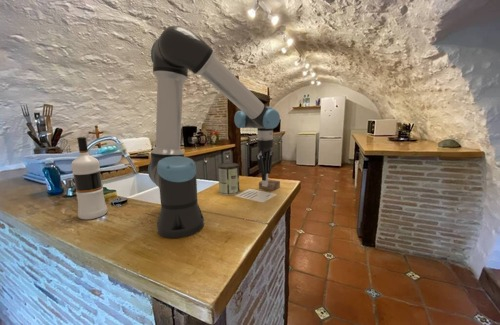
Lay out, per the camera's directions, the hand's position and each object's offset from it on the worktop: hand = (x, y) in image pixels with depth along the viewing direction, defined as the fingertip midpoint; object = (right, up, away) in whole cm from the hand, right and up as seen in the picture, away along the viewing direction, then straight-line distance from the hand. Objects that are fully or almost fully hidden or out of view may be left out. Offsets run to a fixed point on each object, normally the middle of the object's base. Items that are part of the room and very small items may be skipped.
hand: (265, 186), depth 110 cm
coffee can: (-18, -3, -1) cm, 18 cm away
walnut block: (+3, -2, +4) cm, 6 cm away
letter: (-5, -4, -6) cm, 9 cm away
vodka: (-68, -9, -26) cm, 73 cm away
